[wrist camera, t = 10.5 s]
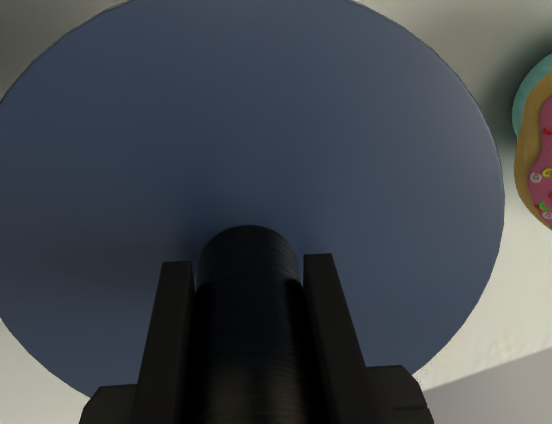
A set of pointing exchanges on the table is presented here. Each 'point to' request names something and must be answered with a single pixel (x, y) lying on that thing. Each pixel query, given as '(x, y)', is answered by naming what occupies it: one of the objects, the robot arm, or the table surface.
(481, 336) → the table surface
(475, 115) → the pot lid
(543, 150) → the cupcake
